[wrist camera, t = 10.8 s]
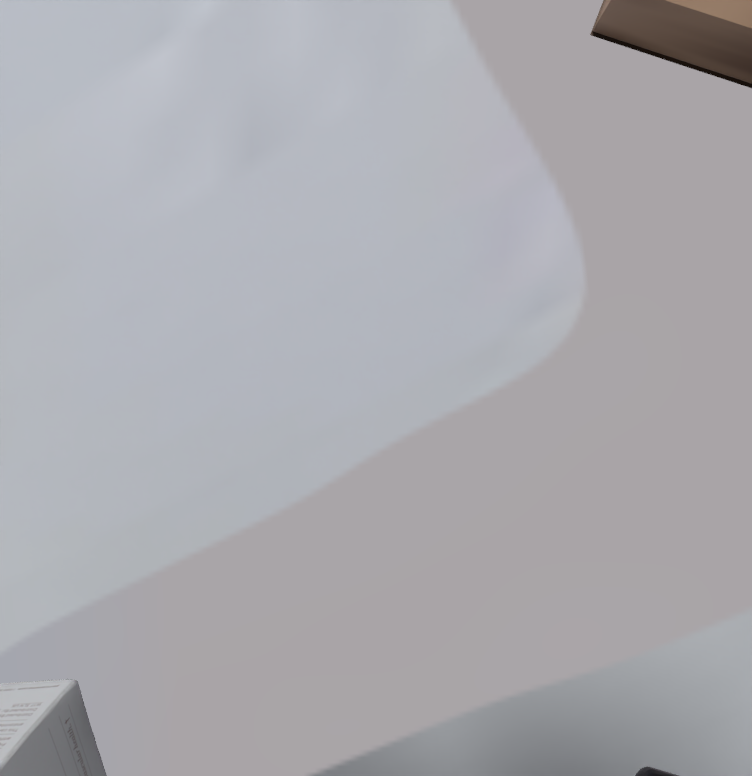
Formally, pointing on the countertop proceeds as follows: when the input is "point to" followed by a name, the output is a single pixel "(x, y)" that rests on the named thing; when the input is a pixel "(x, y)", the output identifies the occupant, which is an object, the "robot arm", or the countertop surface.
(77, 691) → the supplement box
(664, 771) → the robot arm
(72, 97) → the countertop surface
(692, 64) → the walnut block
